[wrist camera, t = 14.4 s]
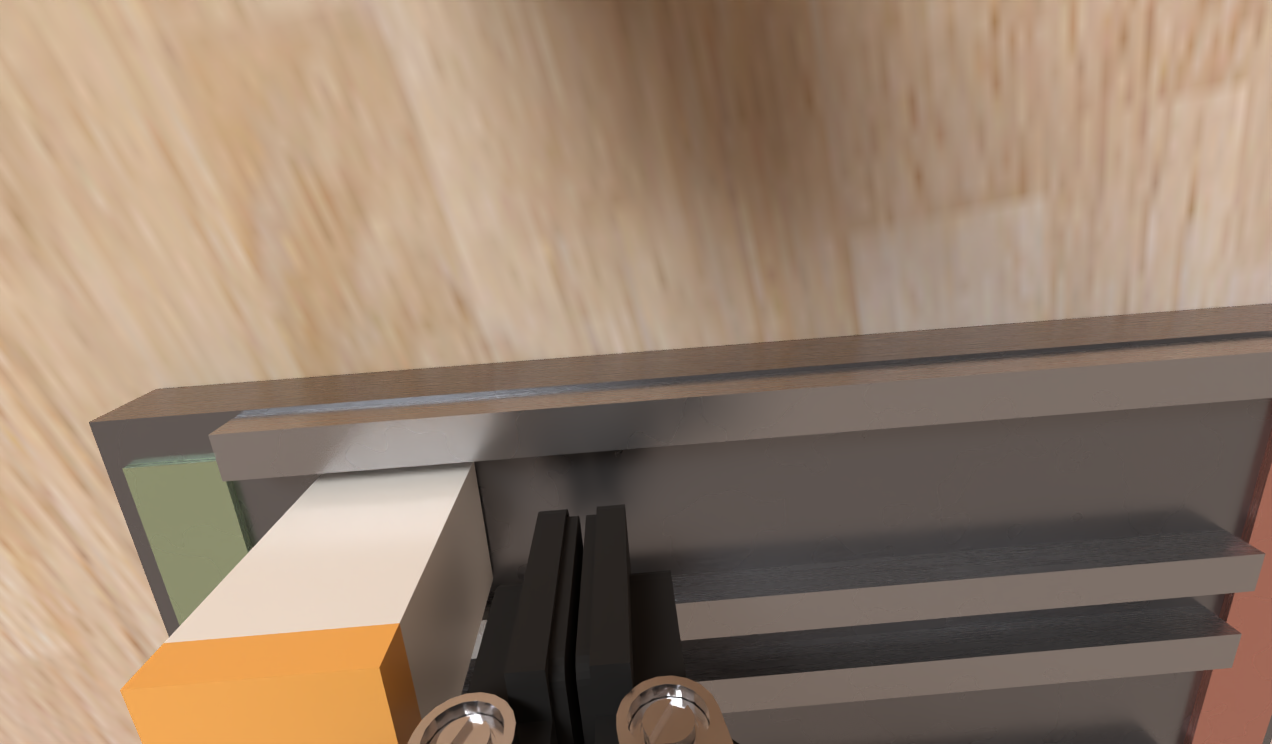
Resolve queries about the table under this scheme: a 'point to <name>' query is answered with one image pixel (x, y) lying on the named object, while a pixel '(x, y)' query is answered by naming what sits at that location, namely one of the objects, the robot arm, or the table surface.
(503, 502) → the gray rail tray
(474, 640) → the block
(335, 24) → the table surface
